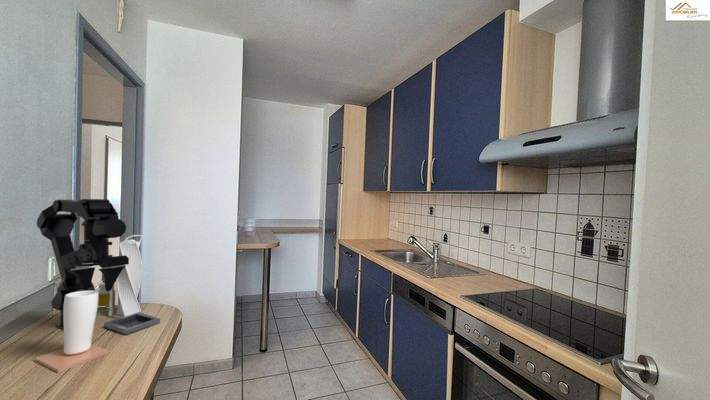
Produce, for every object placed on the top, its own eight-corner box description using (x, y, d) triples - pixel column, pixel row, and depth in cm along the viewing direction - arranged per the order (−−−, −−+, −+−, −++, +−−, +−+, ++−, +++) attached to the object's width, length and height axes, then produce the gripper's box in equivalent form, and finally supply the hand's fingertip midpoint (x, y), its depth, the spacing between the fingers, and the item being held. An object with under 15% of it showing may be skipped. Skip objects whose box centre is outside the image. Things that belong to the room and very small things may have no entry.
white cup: (65, 359, 73) (70, 298, 74) (54, 352, 77) (59, 294, 77) (99, 349, 79) (103, 292, 80) (87, 343, 82) (92, 289, 83)
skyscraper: (132, 308, 111) (134, 233, 111) (147, 311, 108) (148, 235, 108) (107, 316, 103) (108, 236, 103) (122, 320, 100) (123, 237, 100)
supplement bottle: (98, 308, 110) (98, 282, 110) (116, 305, 113) (116, 280, 113) (94, 313, 106) (95, 286, 106) (113, 310, 108) (114, 284, 109)
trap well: (104, 327, 94) (104, 322, 94) (138, 316, 103) (138, 312, 103) (126, 335, 89) (126, 330, 89) (159, 323, 98) (160, 318, 98)
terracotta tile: (34, 360, 75) (35, 357, 75) (84, 343, 84) (84, 341, 84) (58, 372, 70) (58, 369, 70) (108, 353, 79) (108, 350, 79)
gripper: (41, 243, 85) (41, 298, 84) (89, 239, 80) (89, 297, 79) (85, 240, 96) (86, 289, 94) (129, 236, 91) (130, 288, 90)
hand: (97, 291), depth 89 cm, fingers open, 9 cm apart
